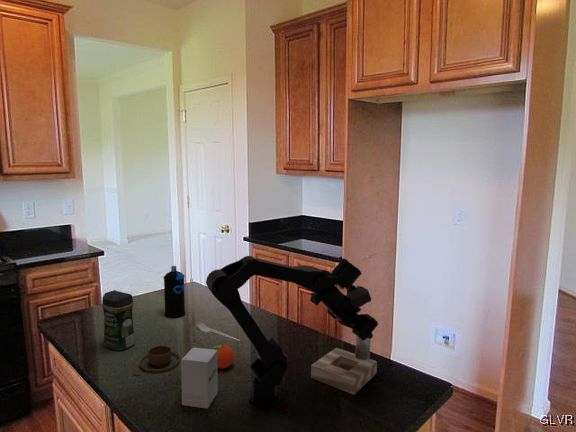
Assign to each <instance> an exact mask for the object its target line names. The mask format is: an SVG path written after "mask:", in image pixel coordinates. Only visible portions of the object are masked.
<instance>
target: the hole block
mask: <svg viewBox="0 0 576 432" xmlns="http://www.w3.org/2000/svg"><path fill="white" fill-rule="evenodd" d="M310 367H311V368H310V369H311V370H310V373H311V374H310V379H313V380H315V381H318V382H319V383H323V384H326V385H328V386H330V387H333V388H336V389H337V390H338V389H339V390H340V391H343V392H346V393H348V394H351V395H353V396H355V395H356V393H358V392H359V391H360V390H361V389H362V388H363V387H364V386H366V384H367V383H369V381H370V380H371V379H373V378H374V377H375V376H376V375H377V371H378V370H377V368H378V361H376V360H374V359H371V358H369V359H368V360H360V359H357V358H356V357H355V353H354V352H349V351H347V350H345V349H341V348H338V347H334V349H332V350H331V351H329V352H328V353H326V354H325V355H324V356H322V357H321V358H319V359H318V360H316V361H315V362H313V363H312V364H311V366H310Z"/></svg>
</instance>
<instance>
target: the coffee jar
mask: <svg viewBox="0 0 576 432" xmlns="http://www.w3.org/2000/svg"><path fill="white" fill-rule="evenodd" d="M101 299H102V301H101V302H102V303H101V305H102V311H103V321H104V323H103V326H104V327H103V331H104V332H103V342H104V344H103V345H104V346H105V347H106V348H109V349H111V350H114V351H116V352H117V351H124V350H126V349H127V350H128V349H129V348H132V346H133V345H134V344H135V342H136V341H135V331H134V321H133V307H134V300H133V295H132V294H130V293H128V292H124V291H118V290H115V289H114V290H110V291H107V292H104V294H103V295H102V298H101Z"/></svg>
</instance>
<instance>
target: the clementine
mask: <svg viewBox="0 0 576 432" xmlns="http://www.w3.org/2000/svg"><path fill="white" fill-rule="evenodd" d="M210 349H214V350H218V351H217V354H218V369H219V370H220V369H226V368H228V367H230V366H231V364H232V363H233V361H234V357H235V356H234V350H233V349H232V348H231V347H230V345H227V344H225V343H224V344H223V343H222V344H218V345H215V346H213V347H211V348H210Z"/></svg>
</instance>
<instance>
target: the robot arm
mask: <svg viewBox="0 0 576 432" xmlns="http://www.w3.org/2000/svg"><path fill="white" fill-rule="evenodd" d="M361 275H362V272H361V270H360V269H359V268H358V267H356V266H355V265H354V264H353V263H351V262H350V261H349V260H348V259H347V258H344V257H342V258H341V260H339V262H338V264H337V265H336V266H335V267H334V268H333V269H332V271H331V272H330V271H329V270H327V269H320V268H317V267H315V266H313V265H297V266H294V265H293V266H292V265H287V264H283V263H279V262H275V261H270V260H267V259H262V258H257V257H254V256H252V255H246V256H244V257H242V258H241V259H239V260H237V261H234V262H232V263H229V264H226V265H225V266H223V267H221V268H219V269H214V270H212V271H211V272H210V273H209V274H208V275H207V277H206V280H205V284H206V286H207V288H208V290H209V291H210V292H211V294H212V295H213V297H214V298H215V299H217V300H218V301H219V302H220V303H221V305H223V306H224V307H225V308H226V309H227V310H228V311H229V312H230V314H231V315H232V317H233V318H234V320H235V321H236V323H237V324H238V325H239V327H240V328H241V329H242V331H243V333H244V334H245V335H246V337H247V339H248V340H249V342H250V343H251V345H252V346H253V349H254V352H255V356H256V357H257V358H255V360H254V361H253V362H252V363H251V365H250V366H249V368H250V370H251V372H252V374H253V375H254V376H255V377H254V380H253V382H252V384H253V385H252V387H253V388H252V392H253V393H252V394H253V395H252V396H251V397H250V398H249V399H248V402H249V404H253V405H254V406H256V407H258V408H260V409H262V410H265V411H268V410H270V409H272V408H273V407H275V406H276V405H277V404H278V403H280V402H281V401H282V400H283V397H282V396H281V395H278V394H279V386H280V385H281V383H282V380H283V377H284V374H285V373H286V371H287V369H288V366H289V364H288V361H287V360H288V358H289V357H288V356H287V355H286V354H285V352H284V351H283V350H282V347H281V346H280V344H278V342H277V341H276V340H275V338H273V337H270V339H269V340H268V339H267V337H266V336H265V334H264V333H263V332H262V330H261V328H260V327H259V325H258V324H257V322H256V321H255V320H254V318H253V316H252V314H250V312H249V311H248V309H247V307H246V306H245V305H244V303H243V301H242V299H241V295H240V292H239V289H240V288H242V287H243V286H244V285H245V284H246V283H247V282H248V281H249V279H251V278H252V277H253V276H258V277H264V278H270V279H274V280H279V281H283V282H286V283H287V282H289V283H292V284H296V285H297V286H300V287H301V288H304V289H306V290H308V291H311V292H310V299H309V300H310V302H311V303H312V304H313V305H315V306H318V305H319V304H321V303H322V304H323V305H324V306H325V307H326V310H327V311H326V313H327V314H328V316H329V317H331V318H332V319H334V320H337V322H338V323H339V324H341V325H342V326H345V327H347V328H349V329H351V330H352V331H351V333H352V334H354V335H355V336H358V337H359V338H360V339H362V340H366V339H367V338H369V339H370V340H372V339H373V337H374V334H373V332H374V330H375V329H376V328H377V327H378V325H379V322H378V320H377V319H376V318H375V317H373V316H371V315H370V314H368V313H364V314H363V313H360V312H361V311H362V308H361V307H363V306H364V305H365V304H367V303H370V302H372V297H371V294H370V292H369V289H367V288H365V287H363V286H359V285H354V283H355V282H356V281H357V280H358V279H359V277H360V276H361ZM340 289H341V290H344V289H345V290H346V294H344V293H343V292H342V291H341V290H340ZM359 313H360V314H359ZM357 318H359V319H357Z"/></svg>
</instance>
